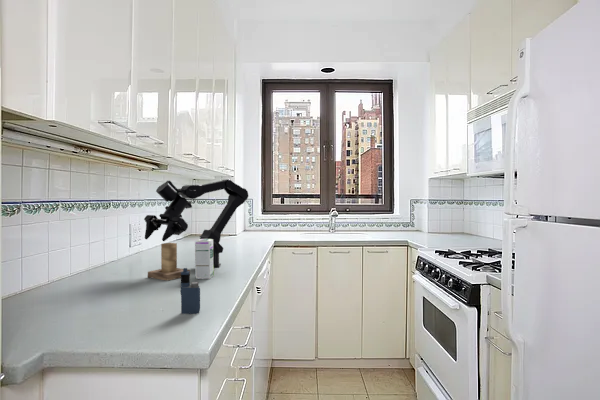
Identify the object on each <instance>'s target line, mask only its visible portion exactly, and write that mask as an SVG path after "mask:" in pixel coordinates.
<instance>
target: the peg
mask: <svg viewBox="0 0 600 400" xmlns="http://www.w3.org/2000/svg"><path fill="white" fill-rule="evenodd" d="M160 245H161V247H160V248H161V251H160V252H161V257H160V258H161V262H160V263H161V266H160V267H161V268H160V269H161V272H165V273H171V272H175V271H177V268H178V261H177V259H178V253H177V252H178V245H177V243H176V242H165V243H161V244H160Z"/></svg>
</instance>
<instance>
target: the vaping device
mask: <svg viewBox="0 0 600 400" xmlns="http://www.w3.org/2000/svg"><path fill="white" fill-rule="evenodd" d="M182 269H183V271H182V272H181V278H180V290H179V291H180V296H181V297H180V303H181V304H180V310H181V311H180V314H183V315H197V314H199V313H200V312H201V288H200V285H199V282H198V281H192V282H191V279H190V278H191V270H190V271H187V270H188V268H187V267H184V268H182Z"/></svg>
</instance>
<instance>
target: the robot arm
mask: <svg viewBox="0 0 600 400" xmlns="http://www.w3.org/2000/svg"><path fill="white" fill-rule="evenodd" d="M220 190H224V191H225V193H226V194H228V197H227V203H226V205H225V206H224V208H223V210H222V211H221V212H220V214H219V215H218V217H217V218H216V220H215V221H214V223H213V225H212V226H211V228H210V229H204V230H203V231H202V233H201V235H200V236H199V239H213V255H214V268H220V266H221V265H222V263H220V254H222V253H223V251H224V247H223V246H222V244H220V242H221V234H222V233H223V231H224V229H225V228H226V226H227V225H228V223H229V221H230V220H231V219H232V217H233V215H234V214H235V212H236V211H237V210H238V209H237V208H239V207H240V206H241V205H243V204H244V203H245V202H246V201H247V199H248V198H249V192H248V190H247V189H246V188H244V187H242V186H240V185H239V184H237V183H235V182H234V181H232V180H231V179H230V178H229V179H221V180H217V181H214V182H209V183H203V184H186V185H183V186H181V188H178V187H176V186H175V184H173V182H172V181H171V180H166V181H165V182H164V183H162V184H161V185H159V186H158V187H157V189H156V191H155V192H156V193H157V194H158V196H160V197H161V198H162V199H163V200H164V201H165V202H166V203H167V202H170V204H169V205H166V206H165V207H164V208H165V211H164V212H163V213H160V214H159V215H158V216H159V217H160V218H158V217H157V215H153V214H146V216H145V217H144V219H143V220H144V221H145V234H144V239H145V240H148V239H149V238H150V237H151V235H153V233H154V232H155V231H159V229H160V228H161V227H162V226H163V225H166V229H165V231H164V233H163V235H162V238H161V240H162V242H166V241H167V240H168V239H169V238H170V237H172V236H174V235H175V236H176V235H177V236H180V235H182V234H183V233H184V232H186V231H187V229H188V228H189V226H188V225H189V224H188V222H186V220H185V219H184V218H183V215H182V213H183V212H184V211H185V209H192V208H193V205H192V201H188V200H194V199H198V198H199V197H201V196H203V195H204V194H208V193H212V192H213V193H214V192H216V191H220Z"/></svg>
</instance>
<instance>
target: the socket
mask: <svg viewBox="0 0 600 400" xmlns="http://www.w3.org/2000/svg"><path fill="white" fill-rule="evenodd" d="M182 271H183V268H178V267H177V271H175V272H171V273H165V272H161V268H158V269H155V270H154V269H153V270H151V271H150V270H148V271H147V278H151V279H155V280H162V281H171V280H176V279H181V272H182ZM187 271H190V272H191V269H187Z"/></svg>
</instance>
